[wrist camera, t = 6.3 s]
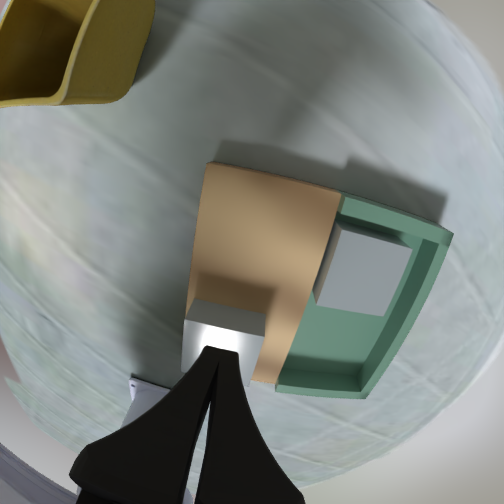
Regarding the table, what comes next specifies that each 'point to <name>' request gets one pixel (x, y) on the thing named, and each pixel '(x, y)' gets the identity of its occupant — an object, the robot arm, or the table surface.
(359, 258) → the tile right
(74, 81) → the flower pot
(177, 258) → the table surface
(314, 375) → the tray
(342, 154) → the table surface
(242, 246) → the board
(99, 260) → the table surface
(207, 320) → the tile left
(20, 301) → the table surface
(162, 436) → the robot arm
